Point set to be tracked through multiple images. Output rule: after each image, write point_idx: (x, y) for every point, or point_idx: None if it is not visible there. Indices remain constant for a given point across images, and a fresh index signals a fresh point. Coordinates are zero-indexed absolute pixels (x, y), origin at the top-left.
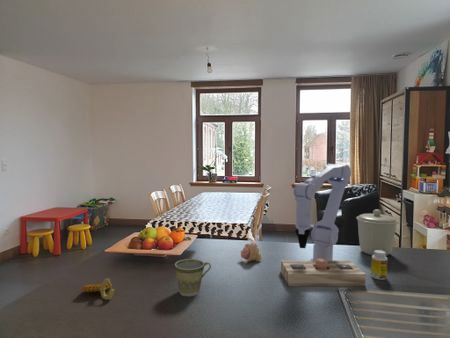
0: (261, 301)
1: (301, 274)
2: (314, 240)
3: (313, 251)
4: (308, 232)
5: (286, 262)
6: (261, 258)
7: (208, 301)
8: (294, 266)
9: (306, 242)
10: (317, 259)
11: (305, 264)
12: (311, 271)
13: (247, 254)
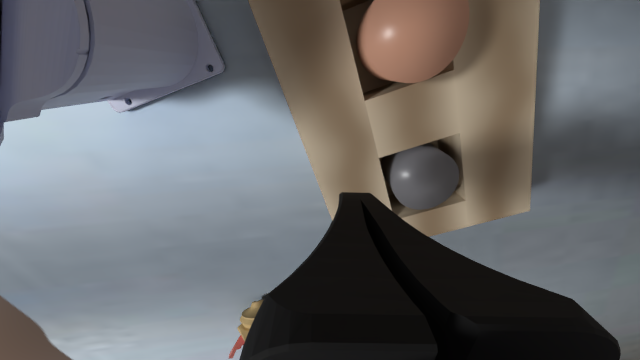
0: (608, 245)
1: (531, 154)
2: (11, 115)
3: (70, 104)
4: (591, 357)
5: None
6: (259, 302)
7: None
8: (434, 197)
9: (399, 217)
10: (397, 66)
11: (375, 143)
12: (491, 102)
13: None
